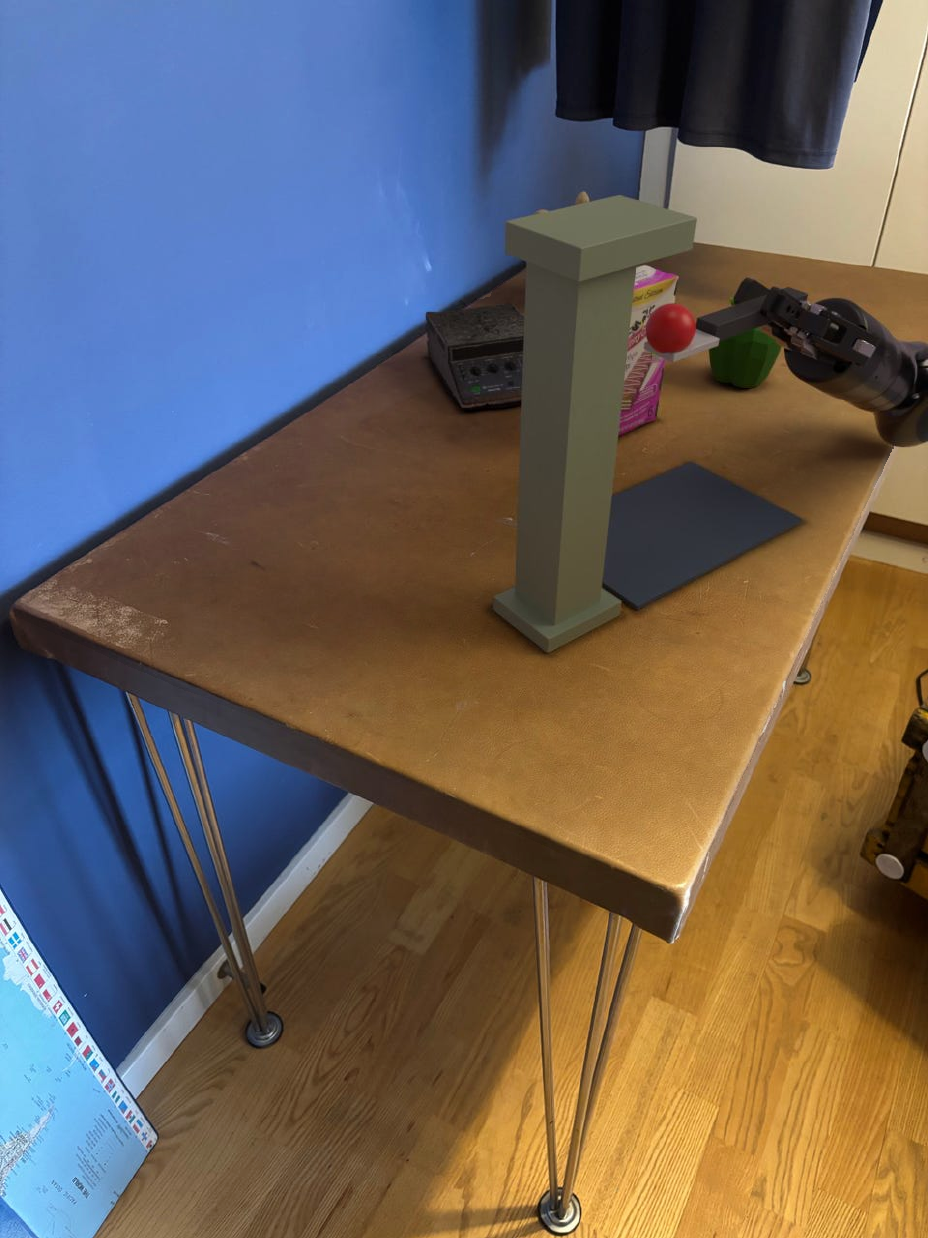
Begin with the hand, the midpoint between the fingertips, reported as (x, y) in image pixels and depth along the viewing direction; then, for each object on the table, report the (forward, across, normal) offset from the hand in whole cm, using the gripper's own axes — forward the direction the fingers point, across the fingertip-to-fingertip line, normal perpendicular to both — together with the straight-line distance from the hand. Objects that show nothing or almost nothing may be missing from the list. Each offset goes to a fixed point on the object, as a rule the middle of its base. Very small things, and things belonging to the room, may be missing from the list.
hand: (755, 295), depth 71 cm
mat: (-9, +3, -21) cm, 23 cm away
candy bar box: (-18, +21, -16) cm, 32 cm away
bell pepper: (-36, +21, -5) cm, 42 cm away
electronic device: (-16, +40, -17) cm, 46 cm away
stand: (+4, 0, -28) cm, 28 cm away
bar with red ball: (+1, 0, -3) cm, 4 cm away
